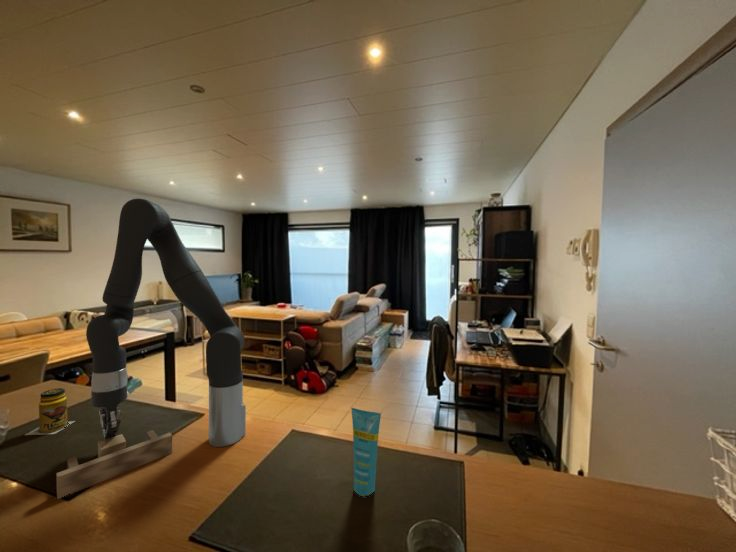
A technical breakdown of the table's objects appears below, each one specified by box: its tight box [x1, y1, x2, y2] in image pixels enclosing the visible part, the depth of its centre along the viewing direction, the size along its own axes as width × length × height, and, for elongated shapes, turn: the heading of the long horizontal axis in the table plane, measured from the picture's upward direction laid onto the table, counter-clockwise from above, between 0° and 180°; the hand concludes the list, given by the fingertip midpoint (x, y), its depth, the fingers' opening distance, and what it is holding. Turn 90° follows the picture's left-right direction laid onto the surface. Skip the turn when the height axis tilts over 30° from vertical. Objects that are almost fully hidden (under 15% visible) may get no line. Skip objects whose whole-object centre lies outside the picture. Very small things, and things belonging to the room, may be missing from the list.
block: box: [97, 433, 127, 458], centre depth 79 cm, size 5×5×5 cm
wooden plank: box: [56, 429, 173, 500], centre depth 77 cm, size 22×9×5 cm, turn 140°
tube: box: [351, 407, 382, 496], centre depth 69 cm, size 7×5×19 cm, turn 72°
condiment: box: [24, 387, 76, 436], centre depth 93 cm, size 7×8×12 cm
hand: (109, 446), depth 82 cm, fingers closed
